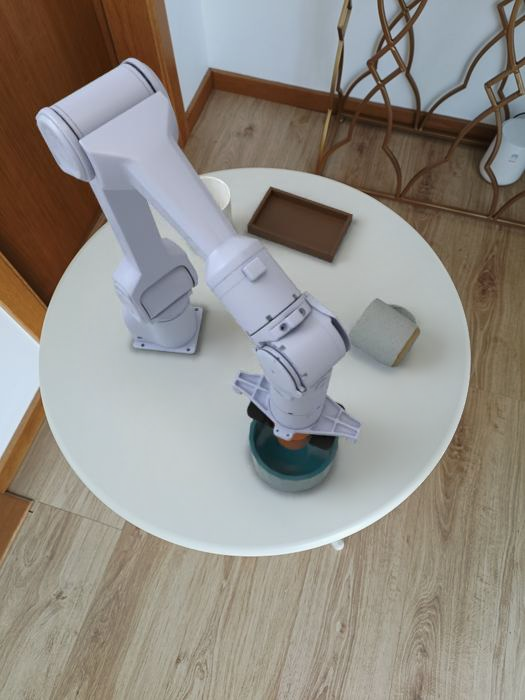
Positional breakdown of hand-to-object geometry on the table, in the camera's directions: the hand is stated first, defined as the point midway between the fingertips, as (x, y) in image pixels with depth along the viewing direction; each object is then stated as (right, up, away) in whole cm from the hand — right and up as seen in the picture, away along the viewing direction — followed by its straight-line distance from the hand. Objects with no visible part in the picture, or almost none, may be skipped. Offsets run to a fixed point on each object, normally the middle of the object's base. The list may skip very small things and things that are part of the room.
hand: (293, 429), depth 65 cm
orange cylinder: (0, -1, +1) cm, 1 cm away
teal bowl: (0, -4, +8) cm, 9 cm away
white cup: (-12, +29, +25) cm, 40 cm away
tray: (+2, +30, +25) cm, 39 cm away
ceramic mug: (+14, +11, +16) cm, 24 cm away
